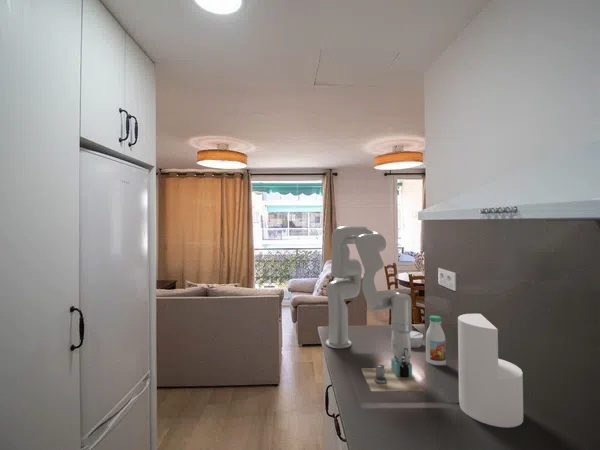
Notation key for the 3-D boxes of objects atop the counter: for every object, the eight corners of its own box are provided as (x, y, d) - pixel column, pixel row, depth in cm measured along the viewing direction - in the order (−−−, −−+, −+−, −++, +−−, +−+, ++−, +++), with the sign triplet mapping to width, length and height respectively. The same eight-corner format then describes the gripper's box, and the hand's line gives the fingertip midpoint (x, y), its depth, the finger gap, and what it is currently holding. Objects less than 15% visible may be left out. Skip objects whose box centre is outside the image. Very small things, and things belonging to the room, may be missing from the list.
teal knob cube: (391, 369, 125) (391, 356, 125) (406, 369, 125) (406, 356, 125) (396, 376, 119) (396, 363, 119) (411, 376, 119) (411, 363, 119)
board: (360, 371, 127) (360, 368, 127) (405, 370, 127) (405, 367, 127) (371, 394, 109) (371, 391, 109) (423, 394, 109) (423, 390, 109)
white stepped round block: (466, 422, 93) (464, 327, 94) (454, 392, 110) (453, 312, 110) (533, 431, 89) (532, 331, 89) (510, 399, 105) (509, 315, 106)
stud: (372, 378, 118) (372, 363, 118) (384, 378, 118) (384, 363, 118) (375, 384, 114) (375, 368, 114) (388, 384, 114) (387, 368, 114)
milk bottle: (423, 364, 133) (422, 316, 133) (430, 358, 139) (429, 313, 139) (442, 369, 128) (441, 320, 128) (448, 363, 134) (447, 316, 134)
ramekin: (424, 350, 149) (424, 338, 149) (399, 347, 153) (399, 336, 153) (422, 341, 160) (422, 331, 160) (399, 339, 163) (399, 329, 163)
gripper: (385, 319, 131) (385, 363, 131) (398, 333, 114) (399, 383, 114) (403, 319, 131) (403, 363, 131) (419, 333, 114) (419, 383, 114)
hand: (401, 372), depth 122 cm, fingers closed on teal knob cube, 6 cm apart
